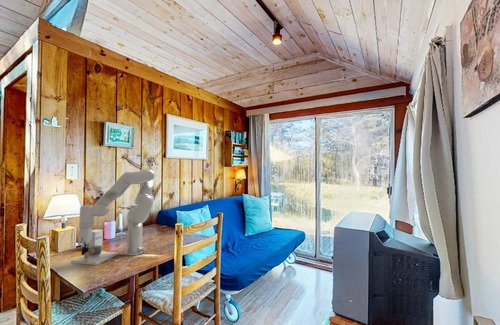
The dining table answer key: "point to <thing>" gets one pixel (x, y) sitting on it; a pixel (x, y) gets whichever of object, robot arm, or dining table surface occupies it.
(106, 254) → the post base
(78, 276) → the dining table surface
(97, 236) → the supplement box
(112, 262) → the dining table surface
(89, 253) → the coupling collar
